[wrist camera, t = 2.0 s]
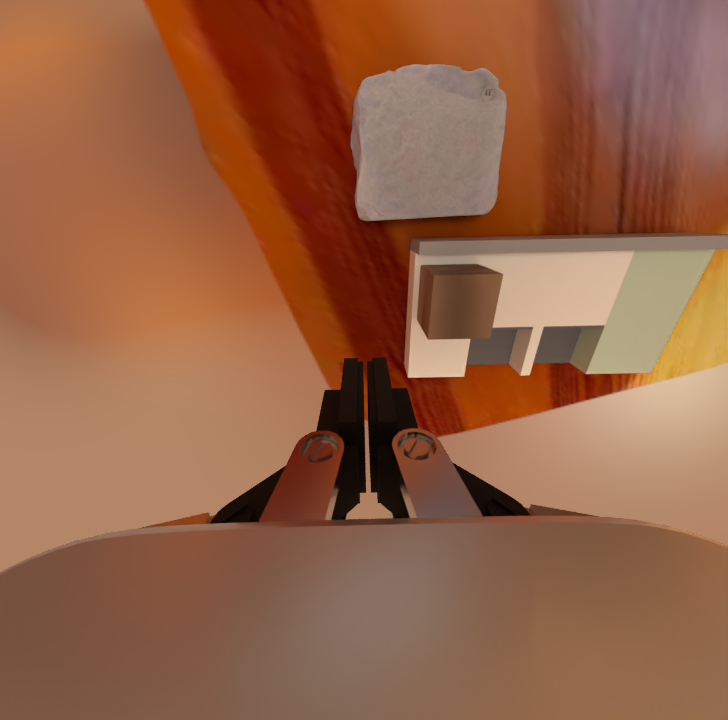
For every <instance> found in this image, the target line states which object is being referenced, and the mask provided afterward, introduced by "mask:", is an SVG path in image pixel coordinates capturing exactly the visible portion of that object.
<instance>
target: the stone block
mask: <svg viewBox="0 0 728 720" xmlns="http://www.w3.org/2000/svg"><path fill="white" fill-rule="evenodd" d="M498 83H499V80H498V78H497V77H496V76H494V75H493V74H492V73H491V72H489V71H488V70H487V69H484V68H479V69H476V70H473V71H464V70H462V69H461V68H459V67H458V66H451V65H444V64H429V65H419V64H412V65H408V66H404V67H401V68H399V69H397V70H396V71H394V72H393V71H390V70H389V71H387V72H386V73H383V74H378V75H375V76H371V77H367V78H365V79H364V80H363V81H362V83H361V85H360V87H359V89H358V93H357V96H356V98H355V101H354V107H353V120H352V132H351V148H352V153H353V158H354V166H355V169H356V171H357V183H356V184H357V185H356V192H355V205H356V209H357V212H358V217H359V218H360V219H361V220H364V221H378V220H396V219H414V218H431V217H449V216H472V215H484V214H487V213H488V212H490V211H491V209H492V208H493V206H494V205H495V202H496V199H497V194H498V191H497V186H498V182H499V176H498V173H499V165H500V159H501V151H502V144H503V139H504V129H505V120H506V112H507V106H506V95H505V92H504V91H502V90H501V89H499V88H498Z"/></svg>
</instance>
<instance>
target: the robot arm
mask: <svg viewBox="0 0 728 720" xmlns="http://www.w3.org/2000/svg"><path fill="white" fill-rule="evenodd" d="M367 380H368V428H369V429H368V430H369V453H370V477H371V492H377V495H378V496H377V497H378V503H381V504H382V505H383V506H385V507H386V508H387V509H388V510H389V511H390V519H349V511H350V510H352V509H353V508H354V507H355V506H356V505H357V504H358V503H360V493H366V474H365V431H364V430H365V429H364V384H363V362H358V358H344V366H343V375H342V384H341V390H325V392H324V396H323V401H322V406H321V411H320V416H319V421H318V426H317V431H316V432H311V433H309V434H308V435H305V436H304V437H303V438H301V439H300V440H299V442H298V443H297V444H296V446H295V448H294V450H293V452H292V454H291V456H290V458H289V460H288V463H287V465H286V466H285V467H283V468H282V469H280V470H279V471H277V472H276V473H274V474H273V475H271V476H270V477H268V478H266V479H265V480H264V481H262V482H260V483H259V484H257V485H256V486H254V487H253V488H251V489H250V490H248V491H247V492H245V493H244V494H242V495H241V496H239V497H238V498H236V499H235V500H233V501H232V502H230V503H229V504H227V505H226V506H225V507H223V508H222V509H221V510H220V511H219V512H218V513H217V514H216V515H214V516H210V515H209V513H203V514H199V515H195V516H191V517H186V518H182V519H178V520H173V521H169V522H164V523H160V524H156V525H151V526H147V527H142V528H138V529H131V530H124V531H118V532H111V533H106V534H102V535H98V536H94V537H90V538H85V539H81V540H78V541H74V542H71V543H68V544H65V545H62V546H59V547H56V548H54V549H51V550H48V551H45V552H42V553H40V554H37V555H35V556H33V557H30V558H28V559H26V560H24V561H21V562H19V563H17V564H16V565H13V566H11V567H9V568H7V569H6V570H4V571H2V572H0V720H728V546H727V545H724V544H722V543H720V542H717V541H714V540H712V539H709V538H706V537H703V536H701V535H697V534H694V533H690V532H687V531H683V530H679V529H676V528H673V527H669V526H664V525H659V524H654V523H649V522H644V521H638V520H631V519H622V518H612V517H598V516H593V515H587V514H581V513H576V512H571V511H565V510H559V509H554V508H548V507H542V506H537V505H531V506H530V508H524V507H523V506H522V504H520V503H519V502H518V501H516V500H515V499H513V498H512V497H510V496H508V495H507V494H505V493H504V492H502V491H500V490H498V489H497V488H495V487H493V486H491V485H490V484H488V483H486V482H485V481H483V480H481V479H479V478H478V477H476V476H475V475H473V474H471V473H469V472H468V471H466V470H464V469H462V468H461V467H459V466H457V465H456V464H454V463H452V461H451V460H450V458H449V456H448V454H447V453H446V451H445V449H444V448H443V446H442V444H441V442H440V441H439V440H438V438H437V437H436V436H434V435H433V434H432V433H430V432H428V431H425V430H422V429H418V426H417V423H416V419H415V415H414V412H413V408H412V405H411V401H410V397H409V394H408V390H407V388H393V389H392V388H391V383H390V377H389V372H388V367H387V361H386V358H372V361H367Z"/></svg>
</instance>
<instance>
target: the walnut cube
mask: <svg viewBox="0 0 728 720" xmlns="http://www.w3.org/2000/svg"><path fill="white" fill-rule="evenodd" d="M502 278H503V274H502V273H499V272H497V271H494V270H492V269H489V268H487V267H484V266H482V265H479V264H447V265H421V267H420V281H419V295H418V309H417V321H418V323H419V324H420V326H421V328H422V330H423V332H424V333H425V335H426V337H427V339H428V340H436V339H485V338H490V337H491V332H492V328H493V323H494V318H495V313H496V308H497V303H498V298H499V293H500V288H501V283H502Z"/></svg>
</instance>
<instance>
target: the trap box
mask: <svg viewBox="0 0 728 720" xmlns="http://www.w3.org/2000/svg"><path fill="white" fill-rule="evenodd" d="M715 249H728V234H710V233H687V232H686V233H638V234H589V235H541V236H493V237H445V238H411V245H410V263H409V282H408V301H407V319H406V338H405V357H404V366H405V369H406V373H407V376H408V378H418V377H464V374H465V368H466V365H485V364H509V365H510V366H511V367H512V368H513V369H514V370H515V371H516V372H517V373H518V374H519V375H530V372H531V369H532V365H533V363H571V364H572V365H573V366H575V367H576V368H578V369H579V370H581V371H582V372H584V373H585V374H612V373H651V372H652V370H653V368H654V366H655V365H656V363H657V361H658V359H659V357H660V355H661V353H662V351H663V349H664V347H665V345H666V343H667V342H668V340H669V338H670V336H671V334H672V332H673V330H674V328H675V326H676V324H677V322H678V320H679V318H680V317H681V315H682V313H683V311H684V309H685V307H686V305H687V303H688V301H689V299H690V297H691V295H692V294H693V292H694V290H695V288H696V286H697V284H698V282H699V280H700V278H701V276H702V274H703V272H704V270H705V269H706V267H707V265H708V263H709V261H710V259H711V257H712V255H713V253H714V251H715ZM447 264H479V265H482V266H484V267H487V268H489V269H492V270H494V271H497V272H499V273H502V274H503V278H502V283H501V288H500V293H499V298H498V303H497V308H496V313H495V318H494V323H493V328H492V332H491V337H490V338H485V339H436V340H428V339H427V337H426V335H425V333H424V332H423V330H422V328H421V326H420V324H419V323H418V321H417V309H418V295H419V281H420V267H421V265H447Z"/></svg>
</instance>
